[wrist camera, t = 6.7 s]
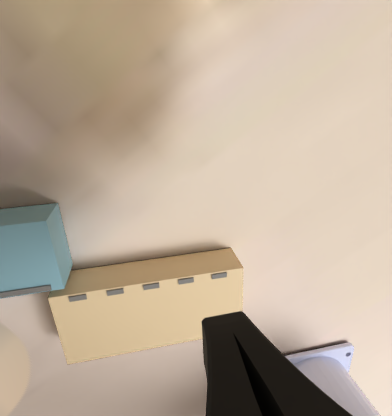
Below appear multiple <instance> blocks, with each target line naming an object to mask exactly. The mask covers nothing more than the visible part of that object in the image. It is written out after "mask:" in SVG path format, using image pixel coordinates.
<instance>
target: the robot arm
mask: <svg viewBox="0 0 392 416" xmlns="http://www.w3.org/2000/svg"><path fill="white" fill-rule="evenodd" d="M202 337H203V354H204V365H205V370H206V376H207V383H208V384H207V403H206V416H380V414H379V413H378V412H377V410H376V409H375V408H374V406H373V405H372V404H371V402H370V401H369V400H368V398H367V397H366V396H365V394H364V393H363V392H362V390H361V389H360V388H359V386H358V385H357V384H356V382H355V381H354V380H353V378H352V377H351V376H350V375H349V369H350V364H351V360H352V355H353V351H354V346H353V345H352V344H351V343H343V344H338V345H334V346H329V347H324V348H320V349H315V350H310V351H305V352H301V353H296V354H291V355H287V356H284V355H283V354H282V353H281V352H280V351H279V350H278V349H277V348H276V347H275V346H274V345H273V344H272V343H271V342H270V341H269V340H268V339H267V338H266V337H265V336H264V335H263V334H262V332H261V331H260V330H259V329H258V328H257V327H256V326H255V325H254V324H253V323H252V322H251V320H250V319H249V318H248V317H247V316H246V315H245V314H244V313H243V312H242V311H238V312H233V313H228V314H222V315H217V316H212V317H206V318H204V319H203V320H202Z"/></svg>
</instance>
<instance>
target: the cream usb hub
mask: <svg viewBox="0 0 392 416" xmlns="http://www.w3.org/2000/svg"><path fill="white" fill-rule="evenodd" d="M48 300H49V304H50V307H51V311H52V314H53V317H54V321H55V324H56V327H57V331H58V334H59V337H60V341H61V344H62V347H63V351H64V354H65V358H66V361H67V364H68V365H69V364H74V363H79V362H84V361H90V360H95V359H100V358H105V357H110V356H116V355H121V354H126V353H131V352H136V351H142V350H147V349H152V348H157V347H162V346H168V345H173V344H178V343H183V342H188V341H194V340H199V339H203V337H202V320H203V319H204V318H206V317H212V316H217V315H222V314H228V313H233V312H238V311H242V305H243V266H242V265H241V263H240V262H239V260H238V258H237V257H236V255H235V253H234V252H233V250H232V248H227V249H220V250H213V251H206V252H199V253H192V254H185V255H178V256H171V257H164V258H157V259H150V260H143V261H136V262H129V263H122V264H115V265H108V266H101V267H94V268H87V269H80V270H72V271H70V274H69V277H68V279H67V282H66V285H65V288H64V289H60V290H53V291H51V292H50V294H49V296H48Z"/></svg>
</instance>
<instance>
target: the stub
mask: <svg viewBox="0 0 392 416" xmlns="http://www.w3.org/2000/svg"><path fill="white" fill-rule="evenodd" d="M72 265H73V263H72V259H71V255H70V251H69V247H68V243H67V238H66V234H65V230H64V226H63V222H62V218H61V214H60V210H59V206H58V203H53V204H44V205H34V206H25V207H15V208H6V209H0V299H1V298H7V297H14V296H20V295H27V294H34V293H40V292H47V291H53V290H60V289H64V288H65V285H66V282H67V279H68V277H69V274H70V271H71V268H72Z"/></svg>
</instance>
